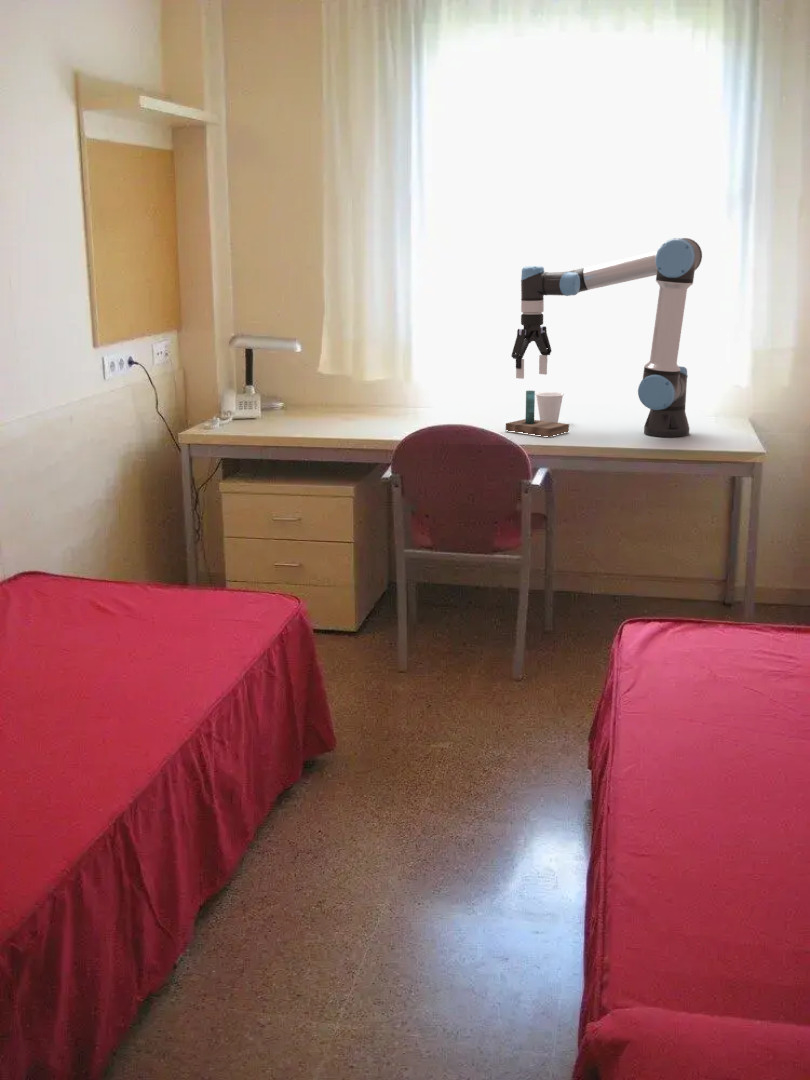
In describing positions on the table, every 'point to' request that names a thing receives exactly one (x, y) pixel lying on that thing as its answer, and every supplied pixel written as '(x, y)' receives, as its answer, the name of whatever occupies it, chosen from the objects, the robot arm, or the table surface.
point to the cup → (549, 405)
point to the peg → (530, 407)
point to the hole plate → (538, 427)
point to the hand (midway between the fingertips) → (531, 376)
